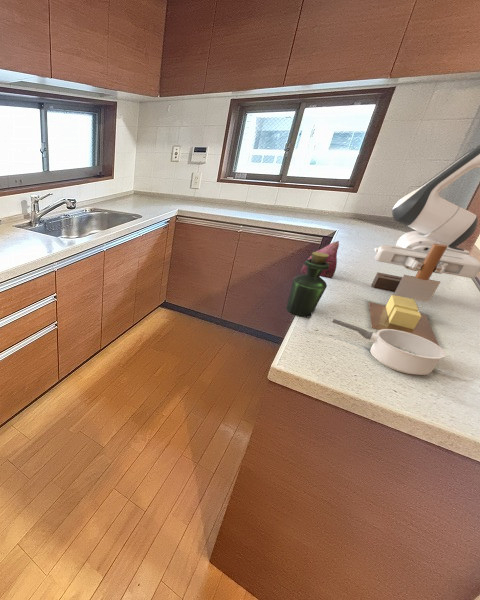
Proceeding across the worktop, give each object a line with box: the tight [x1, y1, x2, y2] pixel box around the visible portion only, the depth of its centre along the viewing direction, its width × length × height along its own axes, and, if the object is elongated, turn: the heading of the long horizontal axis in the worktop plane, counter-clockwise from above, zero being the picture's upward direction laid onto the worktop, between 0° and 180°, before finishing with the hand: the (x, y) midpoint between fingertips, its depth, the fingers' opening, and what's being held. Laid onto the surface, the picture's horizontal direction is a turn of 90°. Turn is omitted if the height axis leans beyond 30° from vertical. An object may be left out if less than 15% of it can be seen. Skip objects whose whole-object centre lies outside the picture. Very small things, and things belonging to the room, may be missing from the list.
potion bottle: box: [285, 251, 329, 318], centre depth 92 cm, size 8×8×18 cm
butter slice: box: [389, 307, 422, 329], centre depth 87 cm, size 5×3×4 cm, turn 53°
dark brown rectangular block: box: [371, 272, 403, 293], centre depth 109 cm, size 11×6×5 cm, turn 53°
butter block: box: [385, 294, 419, 317], centre depth 92 cm, size 5×8×4 cm, turn 143°
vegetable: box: [300, 240, 340, 280], centre depth 121 cm, size 10×10×15 cm
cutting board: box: [368, 301, 440, 347], centre depth 90 cm, size 13×20×2 cm, turn 143°
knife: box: [393, 243, 448, 303], centre depth 84 cm, size 7×3×15 cm, turn 53°
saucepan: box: [331, 318, 446, 376], centre depth 76 cm, size 12×20×6 cm, turn 47°
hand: (428, 268), depth 82 cm, fingers closed on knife, 2 cm apart
